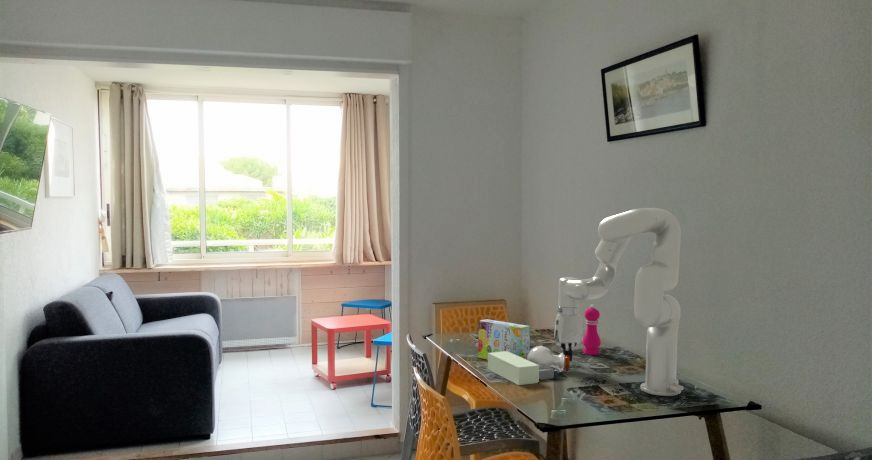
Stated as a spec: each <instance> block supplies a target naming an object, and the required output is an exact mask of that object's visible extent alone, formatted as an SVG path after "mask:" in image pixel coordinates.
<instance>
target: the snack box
mask: <svg viewBox="0 0 872 460" xmlns="http://www.w3.org/2000/svg"><path fill="white" fill-rule="evenodd" d="M530 328H531V326H530V325H526V324H518V323H513V322H507V321H501V320H500V321H499V320H493V319H480V320H478V345H477V347H478V351H477V352H478V353H477V354H478V355H477V358H479V359H483V360H487V361H488V353H493V352H503V351H508V352H510V353H512V354H515V355H517V356H519V357H521V358H524V359H527V356H528V353H529V351H530V340H531V339H530V336H531V335H530V334H531V333H530V332H531V329H530Z"/></svg>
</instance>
